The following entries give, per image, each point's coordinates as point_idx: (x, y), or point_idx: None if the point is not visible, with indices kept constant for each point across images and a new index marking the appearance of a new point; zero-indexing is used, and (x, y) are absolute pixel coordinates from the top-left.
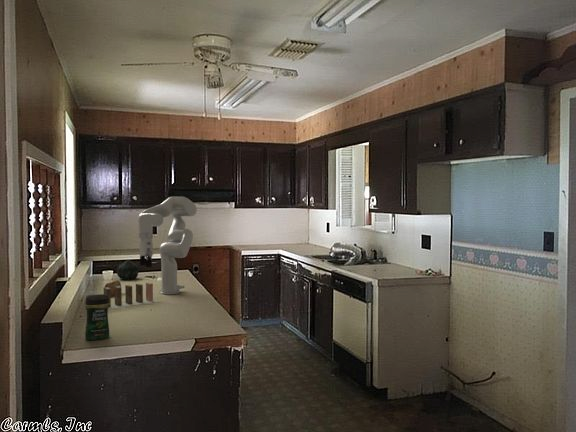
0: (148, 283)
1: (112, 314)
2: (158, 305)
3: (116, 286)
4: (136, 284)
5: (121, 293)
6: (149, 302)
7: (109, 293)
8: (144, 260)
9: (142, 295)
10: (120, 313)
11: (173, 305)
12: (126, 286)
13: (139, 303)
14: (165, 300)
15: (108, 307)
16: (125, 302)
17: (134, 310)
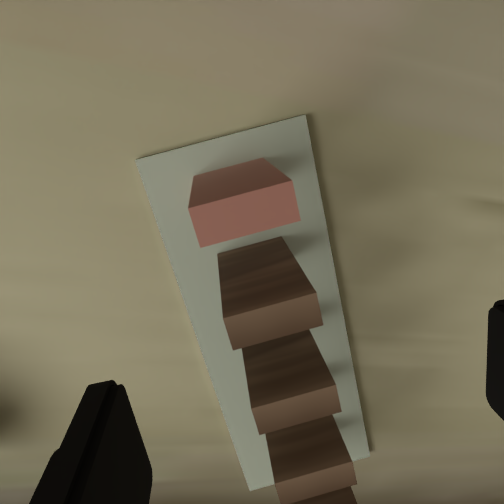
0: (261, 226)
1: (478, 406)
2: (402, 138)
3: (292, 494)
4: (252, 343)
5: (335, 422)
6: (302, 191)
7: (353, 497)
8: (103, 498)
9: (293, 256)
10: (481, 372)
11: (464, 22)
12: (286, 421)
13: (303, 261)
14: (245, 41)
15: None
16: (228, 341)
17: (456, 302)
